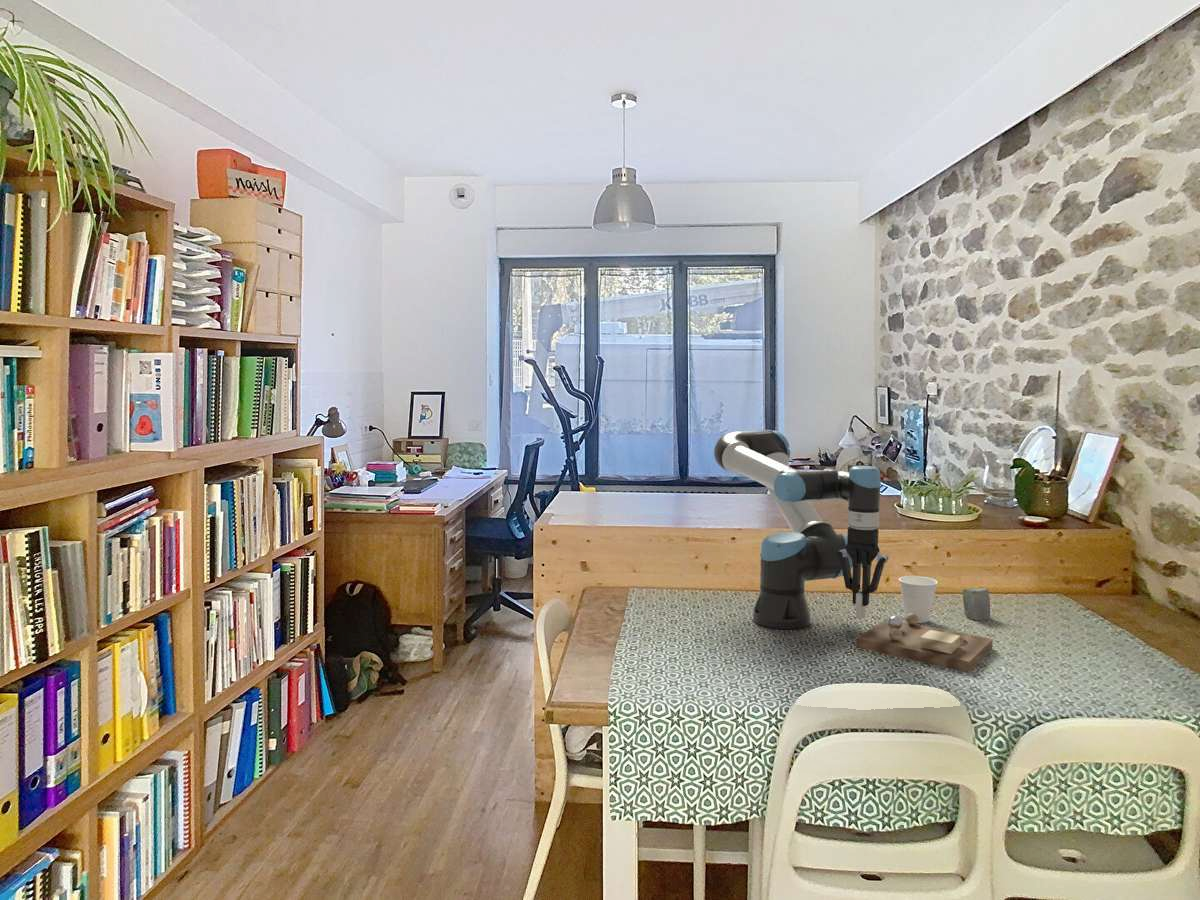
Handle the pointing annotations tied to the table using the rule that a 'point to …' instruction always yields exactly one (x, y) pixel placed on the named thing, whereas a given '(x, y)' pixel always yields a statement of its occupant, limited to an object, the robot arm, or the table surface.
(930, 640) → the cover
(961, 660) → the board
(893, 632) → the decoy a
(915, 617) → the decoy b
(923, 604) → the cup
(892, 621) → the steel ball
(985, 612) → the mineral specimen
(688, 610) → the table surface
